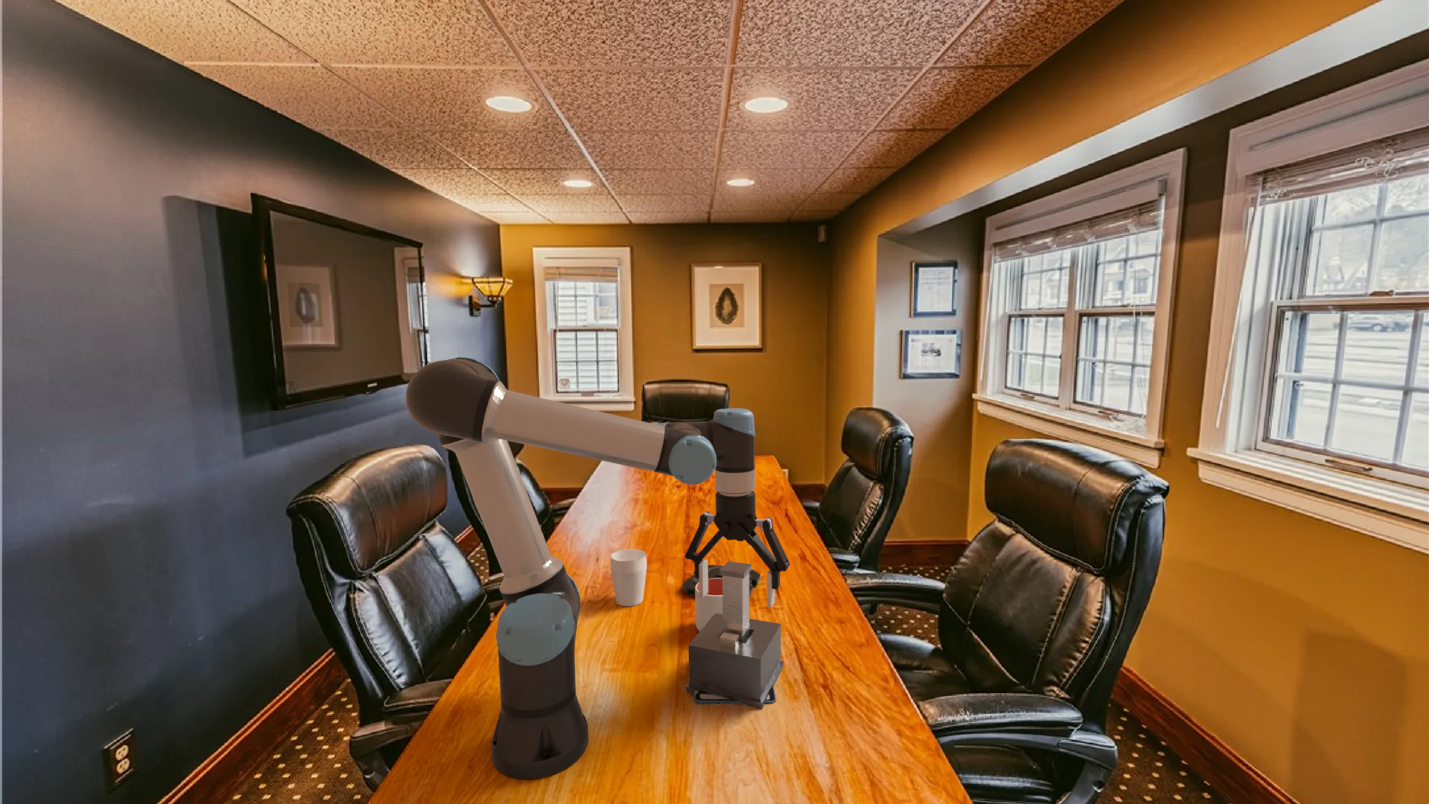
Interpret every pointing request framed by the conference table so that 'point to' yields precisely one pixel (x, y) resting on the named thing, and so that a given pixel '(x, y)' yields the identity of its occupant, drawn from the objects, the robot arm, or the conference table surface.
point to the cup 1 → (628, 576)
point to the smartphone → (713, 699)
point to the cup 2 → (708, 602)
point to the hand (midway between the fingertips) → (736, 599)
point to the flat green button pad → (715, 573)
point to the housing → (736, 661)
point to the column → (736, 599)
